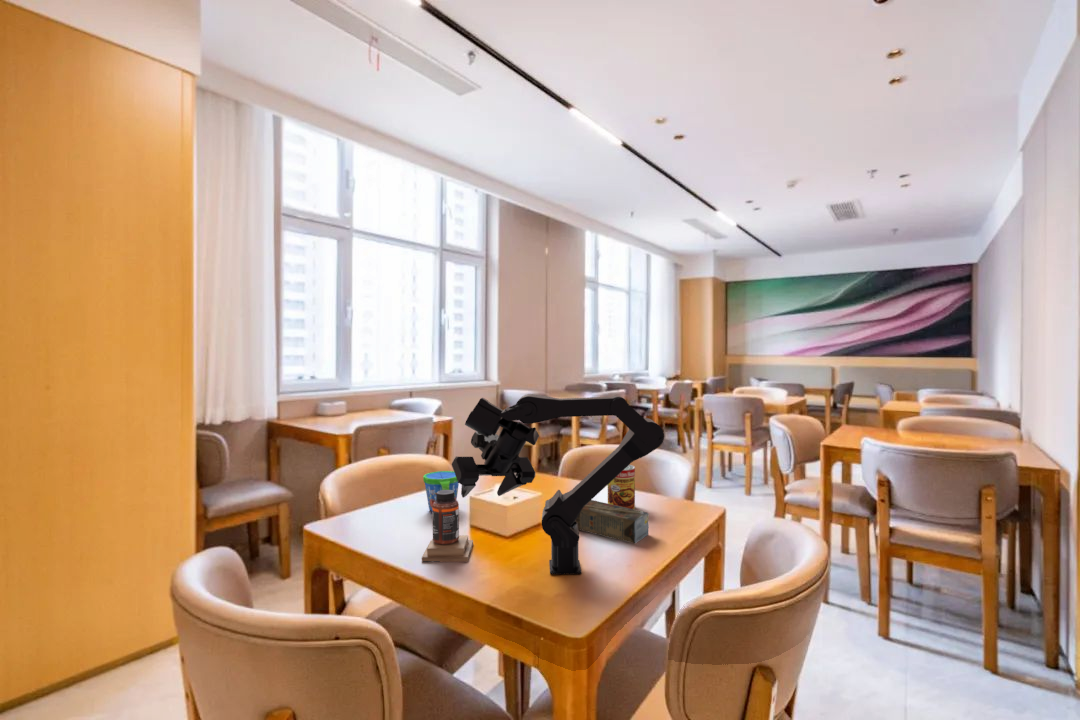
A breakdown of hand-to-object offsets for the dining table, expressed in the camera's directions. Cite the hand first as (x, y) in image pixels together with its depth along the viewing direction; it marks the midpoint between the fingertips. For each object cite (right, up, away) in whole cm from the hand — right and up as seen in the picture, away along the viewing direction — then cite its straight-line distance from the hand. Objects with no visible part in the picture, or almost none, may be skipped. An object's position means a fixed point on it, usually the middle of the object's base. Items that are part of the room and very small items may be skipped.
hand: (480, 495), depth 118 cm
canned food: (+37, -13, +34) cm, 52 cm away
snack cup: (-15, -13, +32) cm, 38 cm away
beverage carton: (+31, -13, +14) cm, 36 cm away
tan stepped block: (-7, -13, 0) cm, 15 cm away
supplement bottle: (-8, -11, +1) cm, 14 cm away
